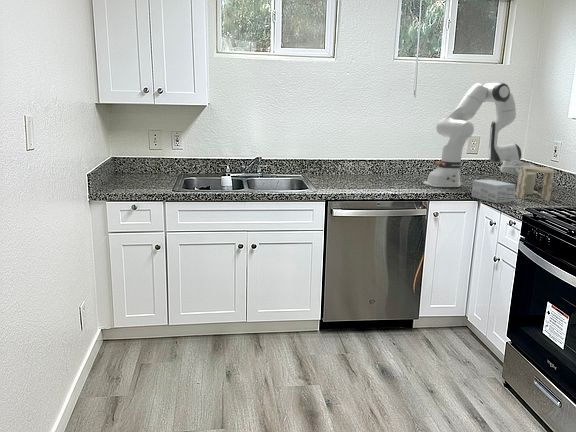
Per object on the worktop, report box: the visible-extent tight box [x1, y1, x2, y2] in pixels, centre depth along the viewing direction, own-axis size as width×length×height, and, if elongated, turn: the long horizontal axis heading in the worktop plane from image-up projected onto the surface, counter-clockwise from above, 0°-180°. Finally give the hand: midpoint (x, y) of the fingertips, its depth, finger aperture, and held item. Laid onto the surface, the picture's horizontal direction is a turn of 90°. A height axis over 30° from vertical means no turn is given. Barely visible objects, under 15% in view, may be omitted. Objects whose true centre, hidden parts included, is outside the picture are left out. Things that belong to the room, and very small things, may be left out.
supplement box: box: [471, 178, 517, 204], centre depth 267 cm, size 17×13×9 cm
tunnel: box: [514, 166, 555, 202], centre depth 278 cm, size 24×14×16 cm, turn 171°
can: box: [515, 172, 537, 195], centre depth 286 cm, size 9×9×12 cm
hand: (522, 171), depth 296 cm, fingers closed
